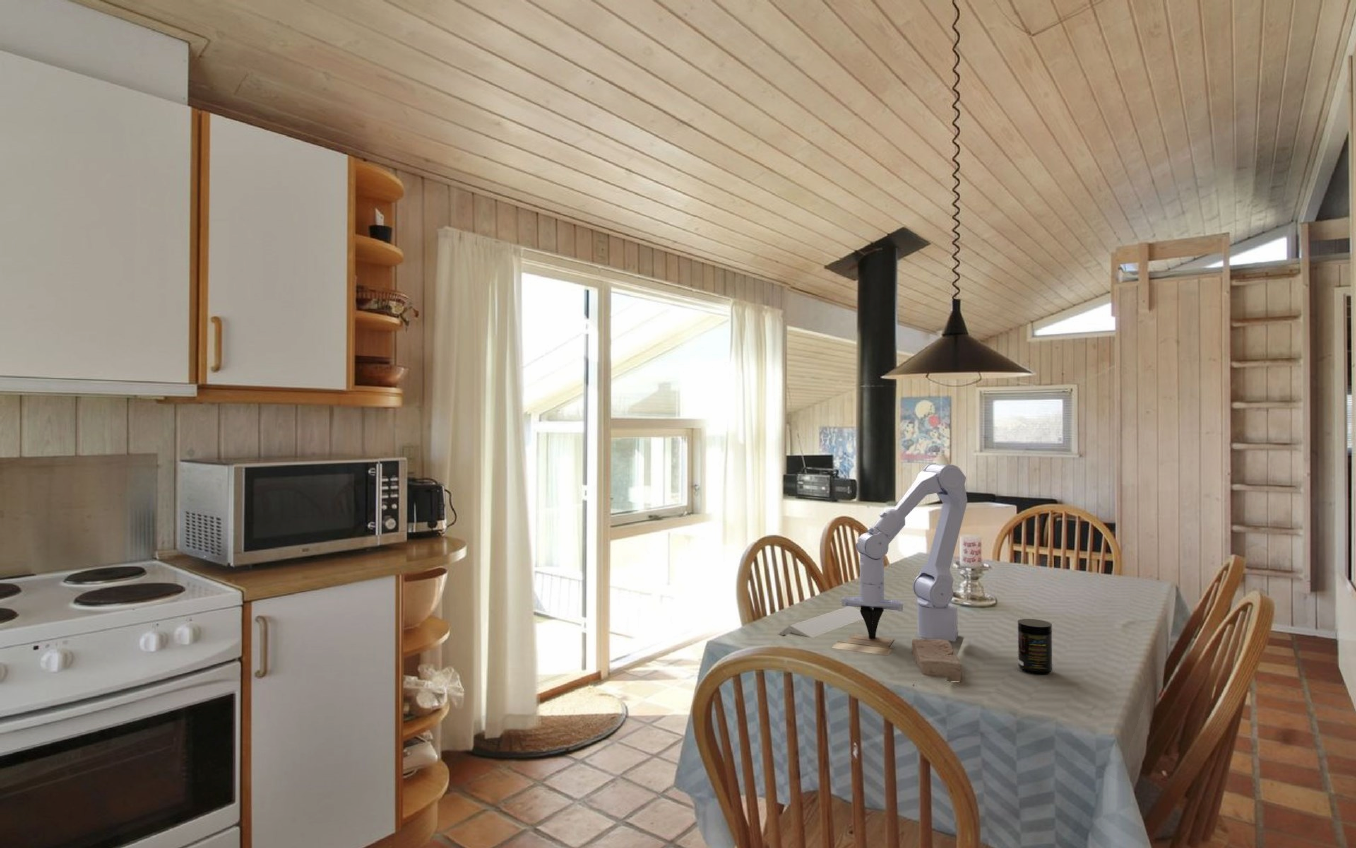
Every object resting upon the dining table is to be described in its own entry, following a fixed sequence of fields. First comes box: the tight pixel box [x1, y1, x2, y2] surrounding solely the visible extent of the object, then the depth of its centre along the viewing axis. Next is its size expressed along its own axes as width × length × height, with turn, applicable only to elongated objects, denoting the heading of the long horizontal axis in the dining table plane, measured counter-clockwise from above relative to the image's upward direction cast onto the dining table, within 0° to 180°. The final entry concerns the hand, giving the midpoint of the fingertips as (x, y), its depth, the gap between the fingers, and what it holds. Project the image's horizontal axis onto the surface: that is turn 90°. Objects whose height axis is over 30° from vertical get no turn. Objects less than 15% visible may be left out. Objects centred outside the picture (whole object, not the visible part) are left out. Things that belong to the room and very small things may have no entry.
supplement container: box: [1017, 618, 1053, 676], centre depth 157 cm, size 7×7×10 cm
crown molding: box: [778, 606, 864, 639], centre depth 192 cm, size 29×12×4 cm, turn 136°
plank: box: [846, 633, 895, 647], centre depth 176 cm, size 10×7×1 cm
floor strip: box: [831, 640, 894, 656], centre depth 170 cm, size 13×6×1 cm, turn 63°
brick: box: [911, 638, 963, 682], centre depth 159 cm, size 17×8×5 cm, turn 169°
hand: (872, 637), depth 178 cm, fingers closed
